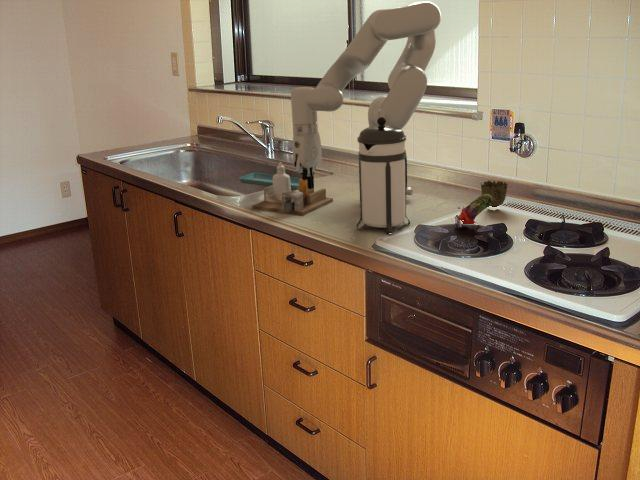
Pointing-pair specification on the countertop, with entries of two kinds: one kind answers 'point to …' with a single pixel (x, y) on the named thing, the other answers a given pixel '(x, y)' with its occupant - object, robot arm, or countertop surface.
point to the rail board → (276, 202)
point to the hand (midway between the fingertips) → (308, 188)
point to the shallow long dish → (265, 180)
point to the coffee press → (382, 176)
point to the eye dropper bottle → (281, 181)
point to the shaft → (302, 188)
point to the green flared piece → (495, 191)
